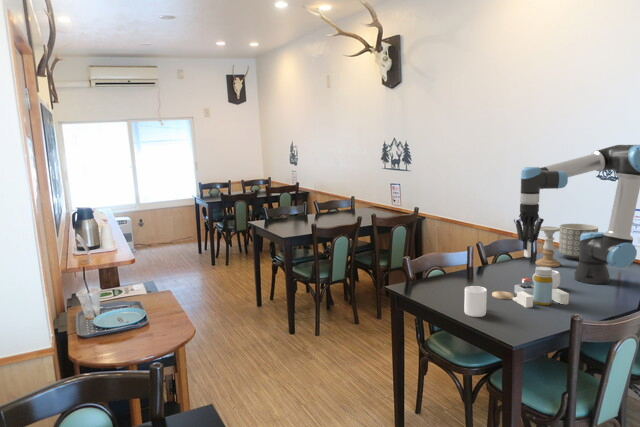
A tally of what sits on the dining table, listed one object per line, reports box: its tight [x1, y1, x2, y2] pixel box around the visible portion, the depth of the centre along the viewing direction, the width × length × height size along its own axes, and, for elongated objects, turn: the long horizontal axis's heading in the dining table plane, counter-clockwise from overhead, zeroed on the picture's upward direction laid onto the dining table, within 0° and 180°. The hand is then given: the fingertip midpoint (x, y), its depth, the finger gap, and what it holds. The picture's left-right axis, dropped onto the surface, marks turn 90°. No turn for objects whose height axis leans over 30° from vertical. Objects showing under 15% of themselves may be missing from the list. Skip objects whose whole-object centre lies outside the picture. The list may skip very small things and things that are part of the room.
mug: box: [532, 269, 561, 289], centre depth 225 cm, size 12×8×8 cm
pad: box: [491, 290, 515, 300], centre depth 215 cm, size 9×9×1 cm
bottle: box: [533, 266, 553, 307], centre depth 204 cm, size 7×7×15 cm
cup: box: [463, 285, 488, 318], centre depth 195 cm, size 8×12×10 cm
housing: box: [512, 284, 570, 309], centre depth 210 cm, size 19×19×4 cm
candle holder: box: [534, 225, 561, 268], centre depth 263 cm, size 12×12×20 cm
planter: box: [558, 223, 599, 261], centre depth 275 cm, size 19×19×18 cm
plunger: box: [520, 277, 533, 289], centre depth 216 cm, size 4×4×5 cm
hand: (527, 256), depth 214 cm, fingers closed
